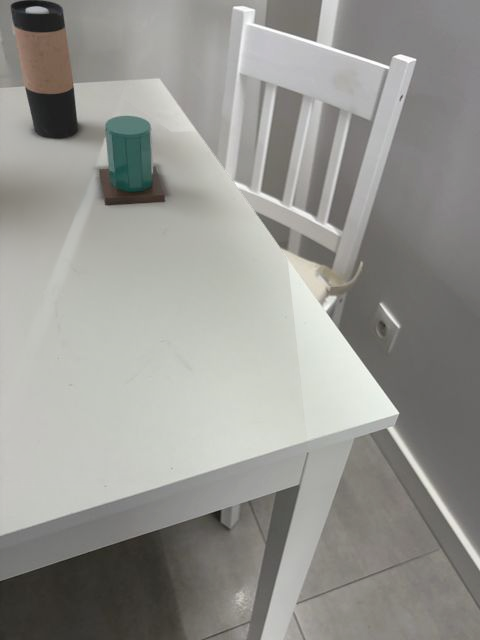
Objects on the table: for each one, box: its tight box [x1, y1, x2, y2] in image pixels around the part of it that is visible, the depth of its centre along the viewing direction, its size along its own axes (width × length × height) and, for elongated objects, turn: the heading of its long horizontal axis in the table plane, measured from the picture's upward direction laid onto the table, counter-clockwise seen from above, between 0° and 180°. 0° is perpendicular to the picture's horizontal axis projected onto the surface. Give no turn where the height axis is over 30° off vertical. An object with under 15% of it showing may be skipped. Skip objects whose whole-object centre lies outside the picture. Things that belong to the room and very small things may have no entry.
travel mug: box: [9, 0, 79, 140], centre depth 90 cm, size 8×8×20 cm
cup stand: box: [98, 166, 166, 206], centre depth 84 cm, size 9×9×8 cm
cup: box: [104, 115, 154, 192], centre depth 83 cm, size 6×7×9 cm
